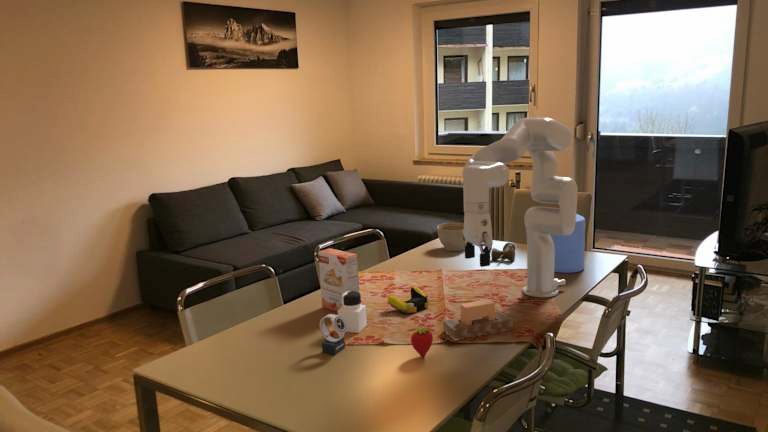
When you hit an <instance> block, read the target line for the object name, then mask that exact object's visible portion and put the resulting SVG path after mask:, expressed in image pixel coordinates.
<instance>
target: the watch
mask: <svg viewBox="0 0 768 432" xmlns="http://www.w3.org/2000/svg"><path fill="white" fill-rule="evenodd" d="M326 318H327V319H328V318H329V320H330V323H331V326H332V329H333V330H334V332H335V333H337V335H338V336H335V335H330V332H329V330H328V328H327V325H326V324H325V323H326V322H325V320H326ZM319 331H320V333H321V335H322V337H323V338H324V339H326V340H324V341H323V342H321V350H322V351H321V352H322V354H327V355H331V356H336V355H337V354H339V353H340V352H341V351H343V350H344V349H346V346H345V345H346V344H345V343H346V342H345V338H344V337H345V335H346V333H347V332H346V323H345V321H344V319H343V318H342V317H340V316H338V314H335V313H328V314H327V315H325V316H324V317H322V318H321V319H320V321H319Z"/></svg>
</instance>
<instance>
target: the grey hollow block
mask: <svg viewBox="0 0 768 432" xmlns="http://www.w3.org/2000/svg"><path fill="white" fill-rule="evenodd" d="M442 325H443V327H442V329H443V330H442V332H443V331H445V332H447V333H448V334H449V335H450V336H451V337H453V338H454V339H462V338H468V339H470V338H469V337H473V338H476V337H475V336H478V337H482V336H481V335H484V336H488V334H489V335H493V333H494V334H498V332H499V333H503V332H508V331H513V330H514V319H513V318H512V317H510V316H509V315H507V314H505V313H504V312H502V311H501V310H497V311H496V310H495V321H490V322H488V321H486V320H485V319H484V317H480V318H475V319H472V325H468V326H464V325H463V324H461V317H459V318H453V319H447V320H443V321H442Z"/></svg>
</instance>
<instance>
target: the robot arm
mask: <svg viewBox="0 0 768 432" xmlns="http://www.w3.org/2000/svg"><path fill="white" fill-rule="evenodd" d="M572 143H573V134H572V131H571V129H570V128H569V127H568V126H567V125H566V124H563V123H561V122H560V121H557V120H555V119H553V118H550V117H524V118H520V119H518V120H516V122H514V124H513V125H512V126H511V127H510V129H509V130H508V131H507V132H506V133H505V134H504V136H502V137H501V139H499V140H497V141H494V142H492V143H490V144H488V145H486V146H484V147H481V148H480V149H478V150H477V151H475V152H474V153H473V154H472V155H471V156H470V157H469V158H468V160H467V161H466V162H465V163H464V166H463V168H462V173H461V174H462V175H461V176H462V179H463V180H462V181H463V182H462V183H463V184H462V186H463V192H462V193H463V212H464V216H463V218H464V219H463V223H464V229H463V230H462V232H463V239H464V245H465V249H464V259H466V260H468V259H473V258H475V256H476V254H475V253H476V251H475V249H476V248H475V247H478V248H479V251H480V253H479V266H480V268H483V267H491V252H492V249H493V244H494V242H493V229H492V220H491V215H490V188H500V187H503V186H504V185H506V184H507V182H508V181H509V178H510V170H509V168H508V166H507V165H506V164H510V163H512V162H515V161H518V160H520V159H521V158H522V157H523V155H524V154H525V153H526V152H528V153H529V155H530V157H531V162H532V173H531V174H532V175H531V186H530V187H531V188H530V195H531V199H532V200H533V201H535V202H538V203H543V204H552V205H554V204H555V205H559V207H552V206H551V207H550V206H542V205H541V206H540V205H539V206H531V207H530V208H528V209H527V210H526V212H525V213H524V217H523V218H524V226H525V227H524V228H525V232H526V245H527V247H526V254H527V255H526V256H527V257H526V259H527V260H526V264H527V265H526V266H527V268H526V273H527V274H526V278H527V279H526V280H527V281H526V285H525V286H524V287H522V292H523V294H524V295H527V296H530V297H533V298H552V297H555V296H557V295H559V288H558V287H559V286H564V285H566V283H567V281H566V279H564V278H563V279H558V278H555V272H554V258H555V246H554V242H553V238H552V237H551V236H550V235H557V236H569V235H571V234H572V233H573V231H574V228H575V222H576V214H577V210H578V209H577V208H578V207H577V206H578V191H579V189H578V185H577V183H576V181H575V180H574V179H573V178H571V177H567V176H558V163H559V162H558V158H556V155H555V154H554V152H566V151H567V150H568V149H569V148H570V147H571V146H572Z"/></svg>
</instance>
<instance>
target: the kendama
mask: <svg viewBox="0 0 768 432" xmlns="http://www.w3.org/2000/svg"><path fill="white" fill-rule="evenodd" d="M490 259H491V260H492V261H493V262H495V261H497V260H500V259H502V260H503V259H504V260H508V261H510V262H511V263H514V262H515V259H516V245H515V243H513V242H507V243H505V244H504V245H503V247H502V250H501V249H500V250H499V249H497V248H495V247H492V249H491V253H490Z"/></svg>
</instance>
